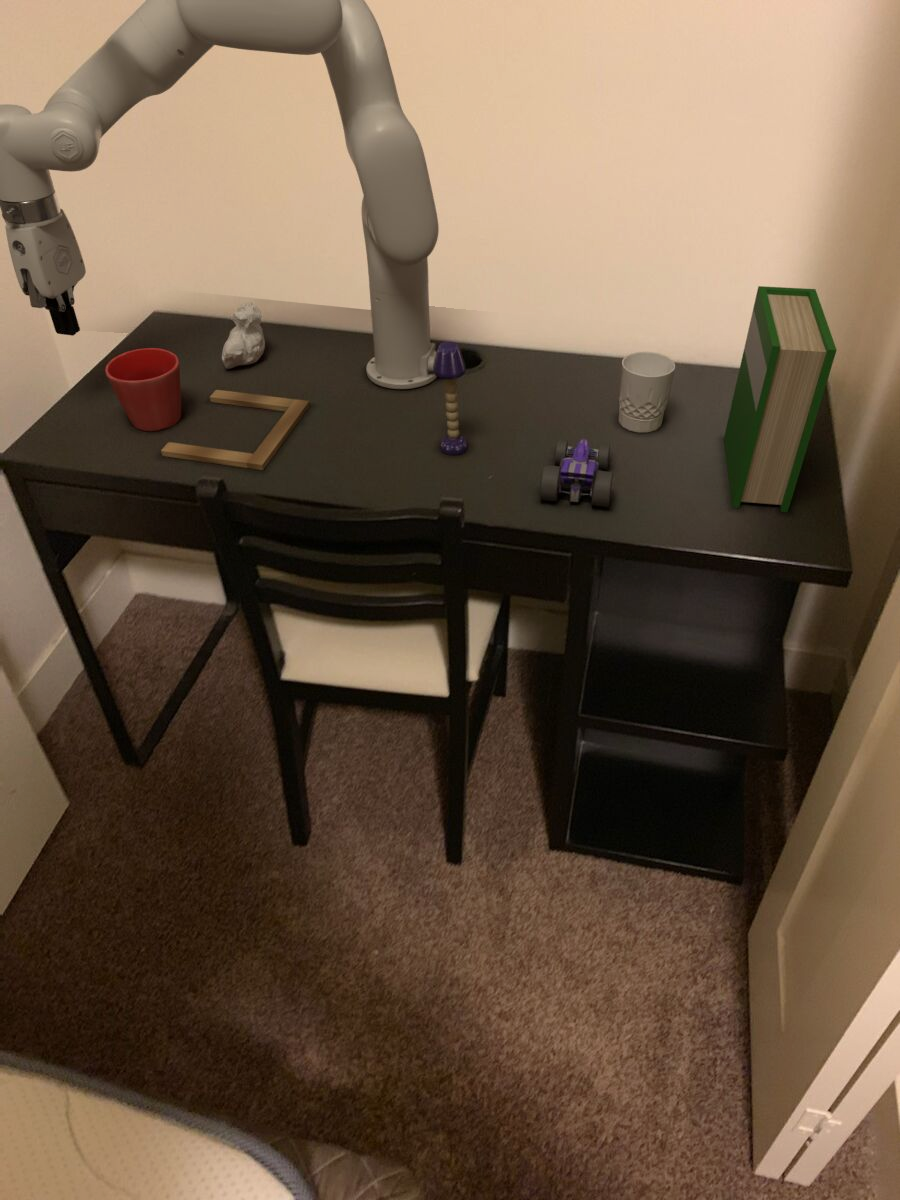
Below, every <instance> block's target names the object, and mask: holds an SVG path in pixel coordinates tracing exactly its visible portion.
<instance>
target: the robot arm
mask: <svg viewBox="0 0 900 1200" xmlns="http://www.w3.org/2000/svg"><path fill="white" fill-rule="evenodd" d="M214 46H217V47H223V48H230V49H236V50H245V51H254V52H255V51H256V52H266V53H277V54H286V55H287V54H288V55H299V56H310V55H311V56H313V55H317V54H320V55H321V56H322V58H323V61H324V64H325V67H326V70H327V74H328V77H329V80H330V83H331V87H332V89H333V93H334V96H335V100H336V103H337V104H336V105H337V108H338V111H339V117H340V120H341V124H342V128H343V134H344V135H343V136H344V140H345V146H346V150H347V152H348V155H349V157H350V159H351V161H352V163H353V165H354V168H355V170H356V173H357V174H356V175H357V177H358V180H359V184H360V188H361V191H362V194H363V196H362V200H361V208H360V209H361V212H360V213H361V222H362V231H363V237H364V244H365V251H366V253H365V254H366V262H367V273H368V289H369V302H370V313H371V327H372V340H373V352H374V354H373V355H374V356H373V357H372V358H371V359H370V360H369V361H368V362H367V364H366V368H365V369H366V376H367V378H368V379H369V380H370V381H371V382H372V383H374V384H375V385H377V386H379V387H383V388H386V389H392V390H410V389H417V388H419V387H420V388H421V387H424V386H426V385H428V384H430V383H432V382H433V381H435V380H436V379H438V377H437V376H436V375H435V374H434V363H435V359H436V354H437V350H436V343H435V342H431V330H430V329H431V327H430V326H431V325H430V290H429V289H430V288H429V283H430V282H429V281H430V279H429V261H428V259H429V258H428V257H429V256H430V255H431V254H432V253H433V251H434V250H435V247H436V245H437V242H438V238H439V228H440V227H439V218H438V213H437V208H436V203H435V199H434V193H433V188H432V184H431V179H430V174H429V169H428V164H427V160H426V156H425V152H424V149H423V145H422V143H421V140H420V137H419V134H418V133H417V131H416V129H415V128H414V126H413V124H412V123H411V122H410V121H409V119H408V118H407V117H408V116H406V114H405V112H404V110H403V108H402V104H401V101H400V98H399V94H398V90H397V85H396V82H395V77H394V73H393V70H392V66H391V62H390V59H389V55H388V50H387V47H386V44H385V41H384V37H383V34H382V31H381V29H380V26H379V24H378V21H377V19H376V17H375V15H374V13H373V12H372V10H371V8H370V7H369V5H368V4H367V2H366V1H365V0H145V1H144V2H143V3H142V4H141V5H140V6H139V7H138V8H137V9H136V10H135V11H134V12H133V13H132V15H130V16H129V17H128V18H127V19H126V20H125V21H124V22H123V23H122V24H121V25H120V26H119V27H118V28H117V29H116V30H115V31H114V32H113V33H112V34H111V35H110V36H109V37H108V38H107V40H106V41H105V42H104V43H103V44H102V46H101V47H99V48H98V50H96V51H95V52H94V53H93V54H92V55H91V56H90V57H89V58H87V60H86V61H85V62H84V63H83V64H82V65H81V66H80V67H79V68H78V69H77V70H76V71H75V72H74V73H72V75H71V76H69V78H68V79H67V80H66V81H64V83H63V84H62V85H61V86H60V87H59V88H58V89H57V90H56V91H55V92H54V93H53V94H52V96H51V97H50V98H49V99H48V100H47V102H46V104H45V106H44V107H43V109H42V110H41V111H40V112H36V113H32V112H31V110H29V109H28V108H27V107H25V106H22V105H18V104H11V103H10V104H0V211H1V216H2V218H3V220H4V223H5V234H6V239H7V245H8V250H9V254H10V258H11V259H10V260H11V262H12V267H13V269H14V272H15V273H14V274H15V276H16V279H17V282H18V284H19V287H20V289H21V291H22V293H23V294H24V295H25V296H28V297H29V302H30V306H31V307H32V308H35V309H43V308H44V309H45V310H46V311H48V312H49V316H50V319H51V321H52V325H53V328H54V331H55V333H56V334H59V335H64V336H71V337H73V336H75V335H76V334H77V333H79V332H81V328H80V325H79V321H78V318H77V315H76V310H75V307H74V305H75V301H76V300H75V295H74V290H75V287H76V285H78V283H79V282H80V281H81V280H83V279H84V277H85V276H86V274H87V270H86V265H85V262H84V258H83V255H82V252H81V249H80V246H79V243H78V241H77V237H76V235H75V232H74V230H73V228H72V225H71V223H70V221H69V219H68V216H67V215H66V213H65V211H64V210H63V208H61V207H60V203H59V200H58V196H57V192H56V190H55V186H54V182H53V178H52V175H51V172H50V171H57V172H69V173H70V172H71V173H72V172H80V171H84V170H86V169H88V168H90V167H91V166H92V165H93V163H95V161H96V159H97V157H98V154H99V151H100V143H101V139H102V138H103V136H104V135H106V133H107V132H109V130H110V129H111V128H112V127H114V125H115V124H116V123H117V122H118V121H119V120H120V119H121V118H122V117H123V116H124V115H125V114H126V113H128V112H129V111H130V110H131V109H132V108H133V107H135V106H136V105H137V104H139V103H140V102H141V101H143V100H145V99H147V98H149V97H153V96H158V95H161V94H163V93H165V92H167V91H168V90H170V89H171V88H172V87H174V86H175V85H176V84H177V82H178V81H180V79H181V78H183V76H184V75H186V74H187V72H188V71H189V70H190V69H191V68H193V66H195V64H196V63H198V62H199V61H200V60H201V58H203V57H204V55H205V54H207V53H208V52H209V51H210V50H211V49H212V48H213V47H214Z"/></svg>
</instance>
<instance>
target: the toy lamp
mask: <svg viewBox="0 0 900 1200" xmlns="http://www.w3.org/2000/svg"><path fill="white" fill-rule="evenodd" d="M436 351H437V354H436V359H435V363H434V374H435V375H436V376H437V378H438V379H441V380H444V391H445V395H444V398H445V401H446V402H445V409H446V412H445V417H446V419H447V421H446V426H447V435H445V436H444V437H443V438H442V439H441V441H440V443H439V450H440V451H441V452H442V453H443V454H445V455H448V456H459V455H462V454H464V453H465V452H466V451H467V450H468V447H469V446H468V441H467V439H466V438H465V437H464V436H462V435H461V434H460V430H459V425H460V423H459V412H458V408H459V404H458V401H457V400H458V392H457V389H458V384H457V379H459V378H462V377H463V376H464V375H465V374H466V372H467V366H466V363H465V360H464V359H465V358H464V357H463V356H464V355H463V353H462V351H461V348H460V345H459V344H458V343H457V342H454V341H443V342H441V343H440V344H438V347H437V350H436Z"/></svg>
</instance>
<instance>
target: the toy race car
mask: <svg viewBox="0 0 900 1200" xmlns="http://www.w3.org/2000/svg"><path fill="white" fill-rule="evenodd" d="M610 450H611V444H610V443H609V444H608V443H607V444H606V443H600V444H599V445H598V449H597V448H590V442H589V441H588V440H587V439H585V438H582V439H580V440H579V442H578V443H577V445H576V446H569V440H567V439H557V441H556V445H555V451H554V465H551V464H550V465H549V464H544V466H543V468H542V472H541V477H540V486H539V499H540V500H541V501H547V502H548V501H549V502H557V500H558V499H559V494H561V493H564V494H567V495H569V502H573V503H579V502H580V499H581V497H582V496H589V497H591V506H594V507H603V508H608V507H609V506H610V500H611V494H612V484H613V477H614V474H613V472H612V471H607V469H608V468H609V467H608V465H609V458H610V452H611V451H610Z"/></svg>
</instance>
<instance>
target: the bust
mask: <svg viewBox="0 0 900 1200" xmlns="http://www.w3.org/2000/svg"><path fill="white" fill-rule="evenodd" d="M236 310H237V311H234V312H233V313H232V314H231V315H230V320H231V321H232V322H233V323H234V324H235V326H234V327H233V328H232V329H231V330H230V331H229V335H228V337H227V339H226V341H225V343H224V344H223V348H222V350H221V351H222V352H221V361H222V364H223V366H224V367H225V368H226V369H228V370H229V369H233V368H235V367H239V366H247V365H252V364H255V363H257V362H258V361H259V360H260V358H261V357H262V356H263V354H264V351H265V348H266V340H265V336H264V332H263V331H264V330H263V328H262V326H261V325H260V324H261V323H262V316H263V315H262V312H261V309H260V308H259V307H258V306H257V305H255V304H253V302H251V301H248V302H244V303H243V304H241V305H239V306H238V307H237V309H236Z"/></svg>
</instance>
